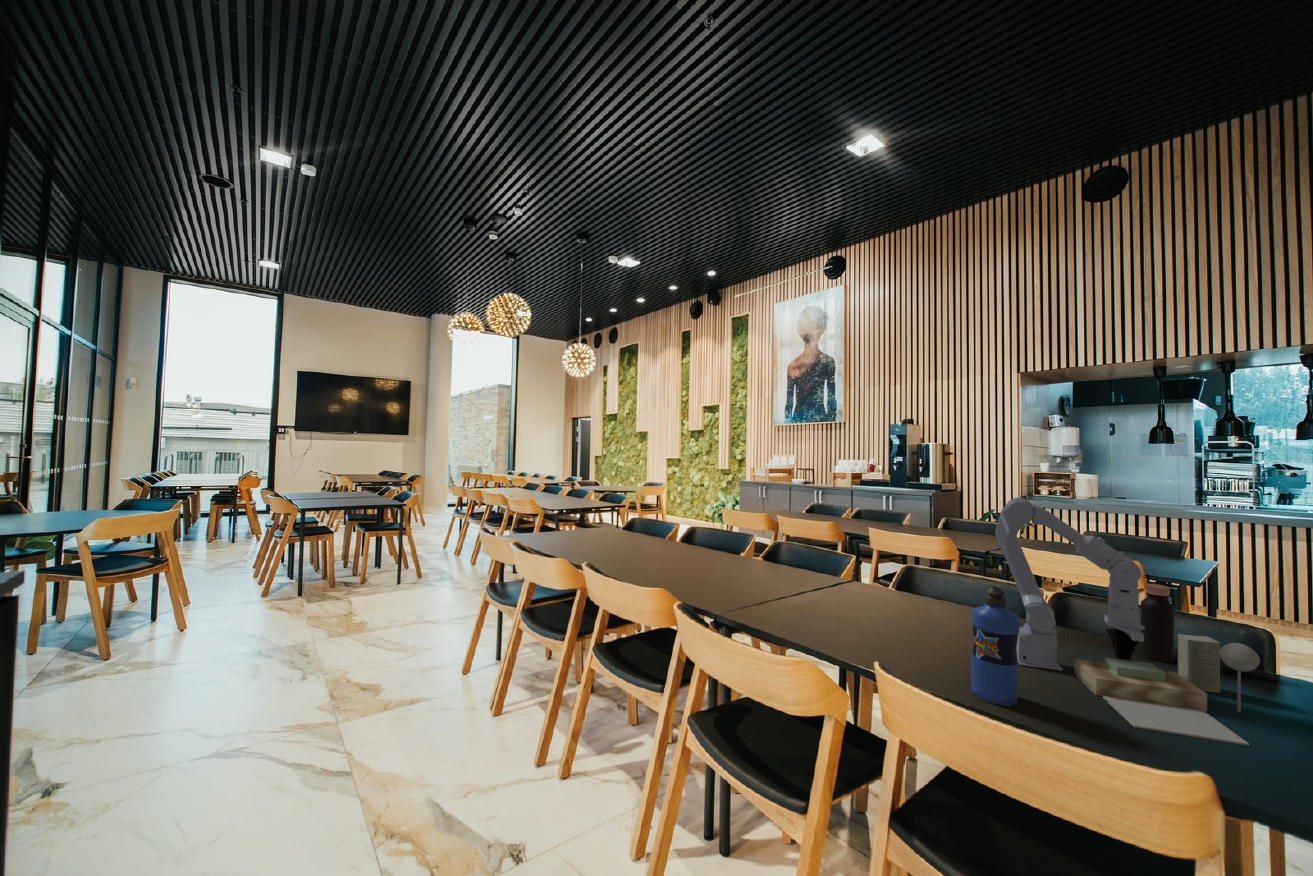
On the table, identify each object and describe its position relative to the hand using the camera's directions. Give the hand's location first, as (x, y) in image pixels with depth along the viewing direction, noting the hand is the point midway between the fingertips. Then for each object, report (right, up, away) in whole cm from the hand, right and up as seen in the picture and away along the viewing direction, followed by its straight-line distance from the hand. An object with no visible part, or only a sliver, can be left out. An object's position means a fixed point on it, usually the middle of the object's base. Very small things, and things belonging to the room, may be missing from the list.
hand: (1122, 660), depth 130 cm
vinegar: (+23, -6, +16) cm, 29 cm away
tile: (-2, -1, -5) cm, 5 cm away
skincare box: (+16, -6, -3) cm, 17 cm away
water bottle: (-39, -4, -10) cm, 40 cm away
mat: (-7, -5, -19) cm, 21 cm away
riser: (-2, -5, -6) cm, 8 cm away
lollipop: (+13, -5, -15) cm, 20 cm away
